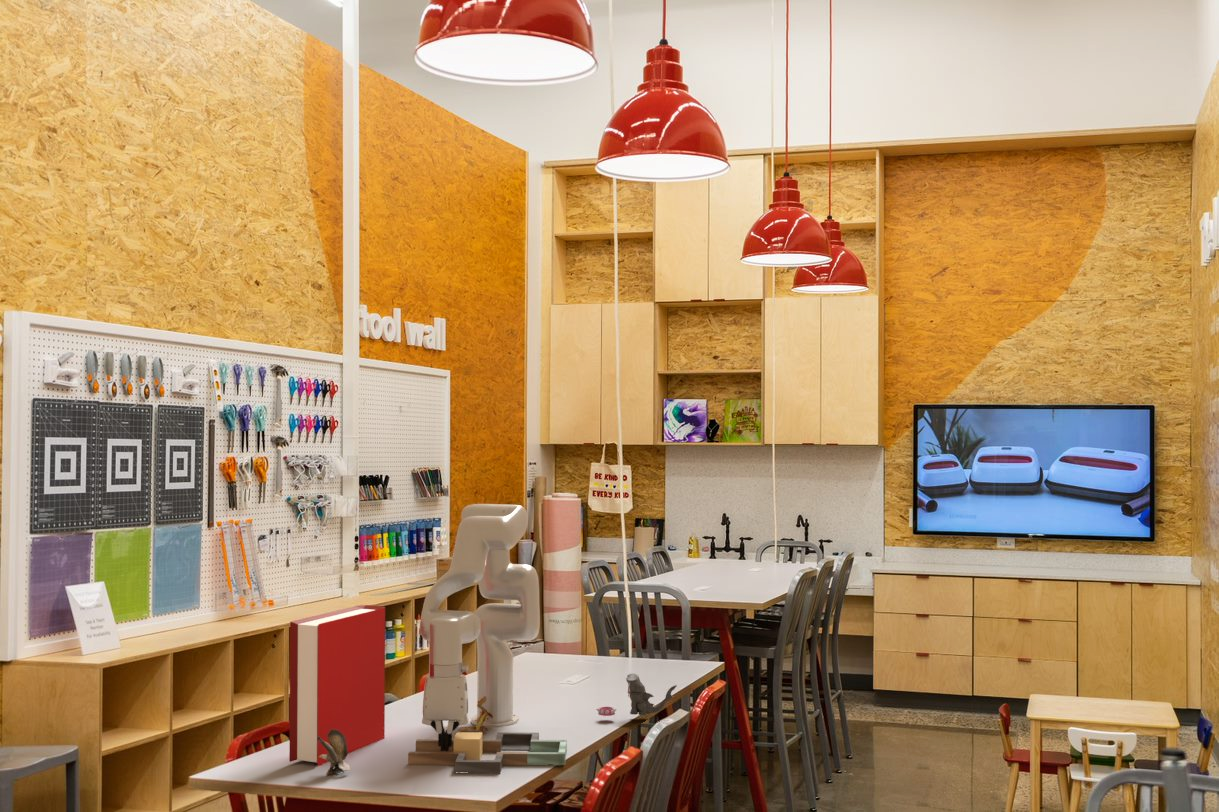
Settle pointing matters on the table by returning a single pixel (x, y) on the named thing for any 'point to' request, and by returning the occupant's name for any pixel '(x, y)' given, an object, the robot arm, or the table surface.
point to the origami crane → (482, 717)
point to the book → (337, 680)
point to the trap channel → (538, 755)
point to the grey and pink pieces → (638, 699)
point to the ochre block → (469, 744)
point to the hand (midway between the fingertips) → (445, 749)
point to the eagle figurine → (335, 751)
